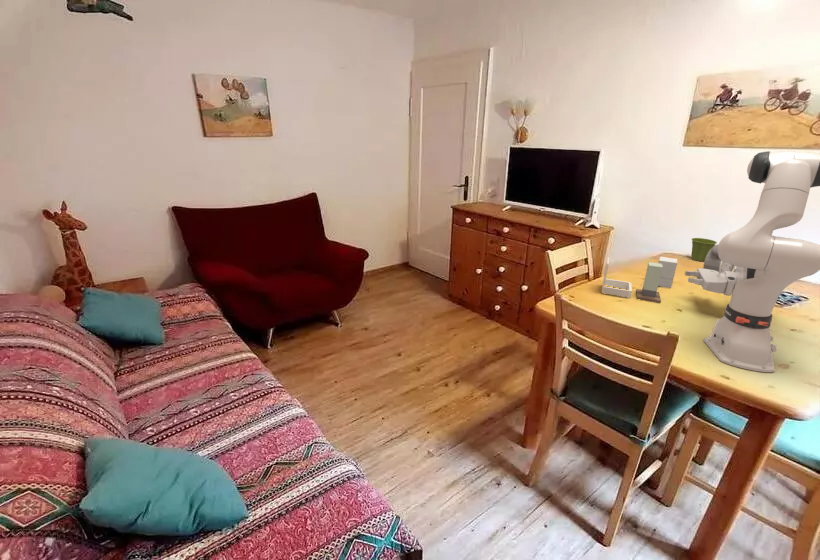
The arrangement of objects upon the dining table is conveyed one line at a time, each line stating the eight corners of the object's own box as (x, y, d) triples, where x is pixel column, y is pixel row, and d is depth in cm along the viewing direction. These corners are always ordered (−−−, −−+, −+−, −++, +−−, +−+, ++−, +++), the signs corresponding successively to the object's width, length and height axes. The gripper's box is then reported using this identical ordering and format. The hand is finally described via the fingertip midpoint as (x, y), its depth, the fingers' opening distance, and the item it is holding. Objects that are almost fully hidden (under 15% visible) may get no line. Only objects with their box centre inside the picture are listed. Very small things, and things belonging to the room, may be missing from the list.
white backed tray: (630, 298, 178) (637, 268, 173) (601, 293, 182) (607, 264, 177) (629, 289, 188) (636, 260, 183) (602, 285, 192) (607, 256, 187)
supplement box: (671, 283, 195) (678, 258, 190) (671, 288, 189) (677, 262, 185) (653, 280, 199) (659, 256, 194) (652, 285, 193) (659, 260, 188)
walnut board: (660, 303, 173) (661, 301, 173) (636, 299, 177) (637, 297, 177) (658, 294, 183) (659, 292, 182) (635, 290, 186) (636, 288, 186)
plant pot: (712, 264, 223) (718, 244, 219) (686, 260, 228) (692, 241, 224) (710, 258, 232) (716, 239, 228) (686, 255, 238) (691, 236, 234)
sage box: (655, 297, 176) (662, 267, 171) (642, 295, 178) (649, 265, 173) (654, 293, 181) (661, 263, 176) (641, 291, 183) (648, 262, 178)
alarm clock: (716, 286, 193) (729, 241, 185) (696, 280, 200) (709, 236, 192) (733, 280, 201) (747, 236, 193) (714, 274, 208) (726, 232, 200)
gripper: (723, 267, 172) (685, 262, 178) (735, 282, 155) (692, 276, 161) (719, 281, 175) (681, 276, 180) (730, 297, 157) (688, 291, 163)
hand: (686, 276), depth 170 cm, fingers open, 8 cm apart
